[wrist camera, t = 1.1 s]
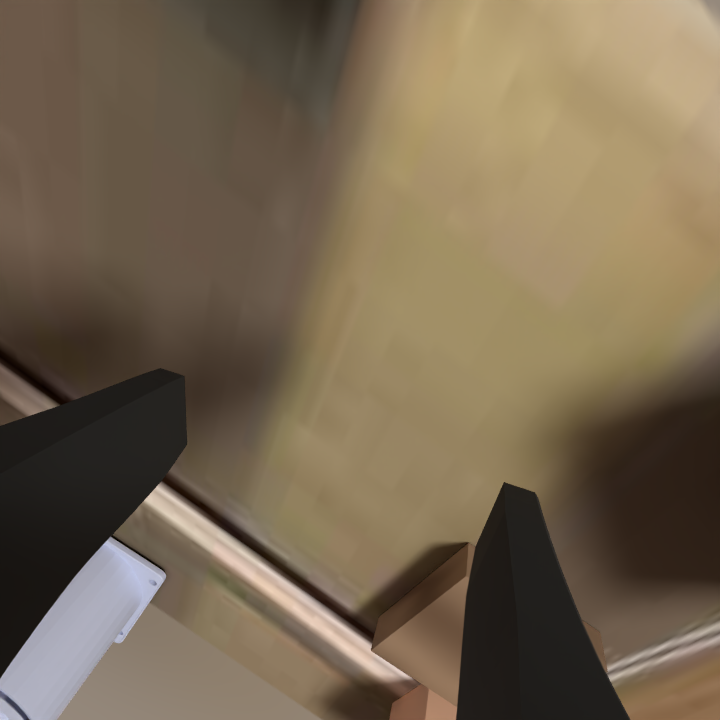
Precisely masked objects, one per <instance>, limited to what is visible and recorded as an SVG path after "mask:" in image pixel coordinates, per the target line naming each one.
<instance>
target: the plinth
mask: <svg viewBox="0 0 720 720" xmlns="http://www.w3.org/2000/svg"><path fill="white" fill-rule="evenodd" d="M474 552H475V547H474V546H473V545H471V544H470V543H468V544H466V545H465V546H464V547H463V548H462V549H460V550H459V551H458V552H457V553H456V554H454V555H453V556H452V557H451V558H450V559H448V560H447V561H446V562H445V563H444V564H442V565H441V566H440V567H439V568H438V569H436V570H435V571H434V572H433V573H431V574H430V575H429V576H428V577H427V578H425V579H424V580H423V581H422V582H421V583H419V584H418V585H417V586H416V587H415V588H413V589H412V590H411V591H410V592H409V593H407V594H406V595H405V596H404V597H403V598H401V599H400V600H399V601H398V602H397V603H395V604H394V605H393V606H392V607H390V608H389V609H388V610H387V611H386V612H384V613H383V614H382V615H381V616H380V617H379V618H378V622H377V627H376V631H375V635H374V639H373V644H372V648H371V651H372V652H374V653H375V654H377V655H378V656H380V657H381V658H383V659H384V660H386V661H387V662H389V663H390V664H392V665H394V666H395V667H397V668H398V669H400V670H401V671H403V672H404V673H406V674H407V675H409V676H410V677H412V678H413V679H415V680H416V681H418V682H419V683H421V684H422V685H424V686H425V687H427V688H428V689H430V690H432V691H433V692H435V693H436V694H438V695H439V696H441V697H442V698H444V699H445V700H447V701H448V702H450V703H451V704H453V705H454V706H456V707H457V703H458V690H459V677H460V664H461V651H462V639H463V626H464V614H465V602H466V593H467V588H468V582H469V577H470V572H471V567H472V562H473V557H474ZM582 622H583V624H584V626H585V629H586V631H587V633H588V635H589V638H590V640H591V642H592V644H593V646H594V649H595V651H596V653H597V655H598V657H599V659H600V661H601V663H602V666H603V668H604V670H605V672H608V671H607V666H606V661H605V656H604V650H603V645H602V640H601V635H600V632H599V631H597V630H596V629H594V628H593V627H591V626H590V625H588V624H587V623H586V622H584V621H583V620H582Z"/></svg>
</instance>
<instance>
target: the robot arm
mask: <svg viewBox="0 0 720 720" xmlns="http://www.w3.org/2000/svg"><path fill="white" fill-rule="evenodd" d="M186 445H187V430H186V405H185V380H184V376H183V375H180V374H177V373H174V372H171V371H167V370H164V369H161V368H160V369H157V370H154V371H151V372H148V373H145V374H142V375H139V376H137V377H134V378H131V379H129V380H126V381H123V382H121V383H118V384H116V385H113V386H110V387H108V388H105V389H103V390H100V391H97V392H95V393H92V394H89V395H87V396H84V397H82V398H79V399H76V400H74V401H71V402H68V403H66V404H63V405H60V406H58V407H55V408H52V409H49V410H46V411H43V412H40V413H37V414H34V415H31V416H28V417H25V418H22V419H19V420H17V421H14V422H11V423H8V424H5V425H2V426H0V720H57V719H58V717H59V716H60V715H61V713H62V712H63V710H64V709H65V708H66V706H67V705H68V703H69V702H70V701H71V699H72V698H73V697H74V695H75V694H76V692H77V691H78V689H79V688H80V687H81V685H82V684H83V683H84V681H85V680H86V679H87V677H88V676H89V674H90V673H91V672H92V670H93V669H94V668H95V666H96V665H97V663H98V662H99V661H100V659H101V658H102V656H103V655H104V654H105V652H106V651H107V650H108V648H109V647H110V645H111V644H112V643H113V641H114V642H116V643H121V642H122V641H123V640H124V638H125V637H126V635H127V634H128V632H129V631H130V630H131V628H132V626H133V625H134V624H135V622H136V621H137V619H138V618H139V617H140V615H141V614H142V612H143V611H144V609H145V608H146V606H147V605H148V603H149V602H150V601H151V599H152V598H153V596H154V595H155V593H156V592H157V590H158V589H159V587H160V586H161V585H162V583H163V582H164V580H165V579H166V574H165V573H164V571H163V570H161V569H160V568H158V567H157V566H155V565H153V564H152V563H150V562H149V561H147V560H146V559H144V558H143V557H141V556H140V555H138V554H137V553H135V552H134V551H132V550H130V549H129V548H127V547H126V546H124V545H123V544H121V543H120V542H118V541H117V540H115V539H114V538H112V537H111V536H112V535H113V534H114V532H115V531H116V530H117V529H118V528H119V527H120V526H121V525H122V524H123V523H124V522H125V521H126V519H127V518H128V517H129V516H130V515H131V514H132V513H133V512H134V511H135V510H136V509H137V508H138V506H139V505H140V504H141V503H142V502H143V501H144V500H145V499H146V498H147V496H148V495H149V494H150V493H151V492H152V491H153V490H154V489H155V488H156V486H157V485H158V484H159V483H160V482H161V481H162V479H163V478H164V477H165V475H166V474H167V473H168V471H169V470H170V468H171V467H172V466H173V464H174V463H175V461H176V460H177V458H178V457H179V455H180V454H181V452H182V451H183V449H184V448H185V447H186ZM456 720H630V718H629V716H628V714H627V713H626V711H625V709H624V707H623V705H622V703H621V701H620V699H619V697H618V695H617V694H616V692H615V690H614V688H613V686H612V684H611V682H610V680H609V678H608V676H607V674H606V672H605V670H604V668H603V666H602V663H601V661H600V659H599V657H598V655H597V653H596V651H595V649H594V646H593V644H592V642H591V640H590V638H589V635H588V633H587V631H586V629H585V626H584V624H583V622H582V620H581V617H580V615H579V612H578V610H577V608H576V605H575V603H574V600H573V598H572V595H571V593H570V590H569V588H568V585H567V583H566V580H565V577H564V575H563V572H562V570H561V567H560V564H559V562H558V559H557V556H556V553H555V550H554V547H553V544H552V541H551V539H550V536H549V532H548V529H547V526H546V523H545V520H544V517H543V513H542V510H541V507H540V503H539V499H538V497H537V495H536V494H535V492H532V491H529V490H526V489H523V488H520V487H517V486H514V485H511V484H508V483H505V482H504V483H503V486H502V488H501V490H500V493H499V495H498V497H497V499H496V502H495V504H494V506H493V508H492V511H491V513H490V515H489V518H488V520H487V522H486V524H485V527H484V529H483V531H482V533H481V536H480V538H479V540H478V543H477V545H476V547H475V552H474V557H473V562H472V567H471V572H470V577H469V582H468V588H467V593H466V602H465V614H464V626H463V639H462V651H461V664H460V677H459V690H458V703H457V714H456Z"/></svg>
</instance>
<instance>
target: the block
mask: <svg viewBox="0 0 720 720" xmlns="http://www.w3.org/2000/svg"><path fill="white" fill-rule="evenodd" d="M456 714H457V707H456V706H454V705H453V704H451V703H450V702H448V701H447V700H445V699H444V698H442V697H441V696H439V695H438V694H436V693H435V692H433V691H432V690H430V689H428V688H427V687H425V686H424V685H422V684H421V685H419V686H418V687H416V688H414V689H413V690H411V691H410V692H408V693H407V694H405V695H404V696H402V697H401V698H399V699H398V700H396V701H395V702H393V703H392V708H391V713H390V719H389V720H456Z"/></svg>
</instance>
